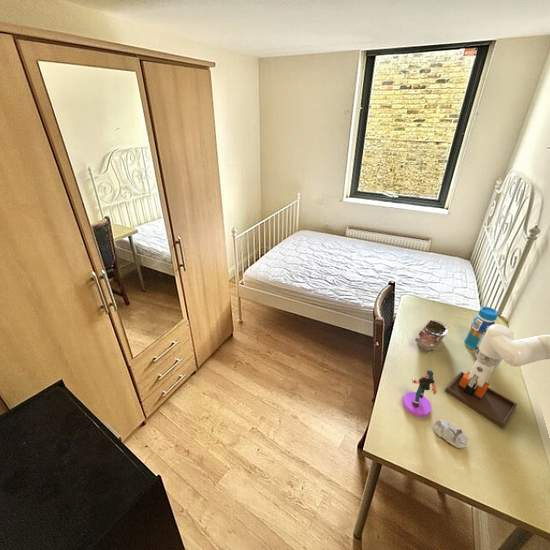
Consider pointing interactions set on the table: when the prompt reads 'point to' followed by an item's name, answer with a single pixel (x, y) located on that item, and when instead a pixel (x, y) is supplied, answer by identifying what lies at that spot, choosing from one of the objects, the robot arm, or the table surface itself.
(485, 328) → the blue lidded jar
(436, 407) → the table surface
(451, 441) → the stone
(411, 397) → the figurine
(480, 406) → the tray
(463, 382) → the orange rectangular block
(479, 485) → the table surface
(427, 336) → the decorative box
